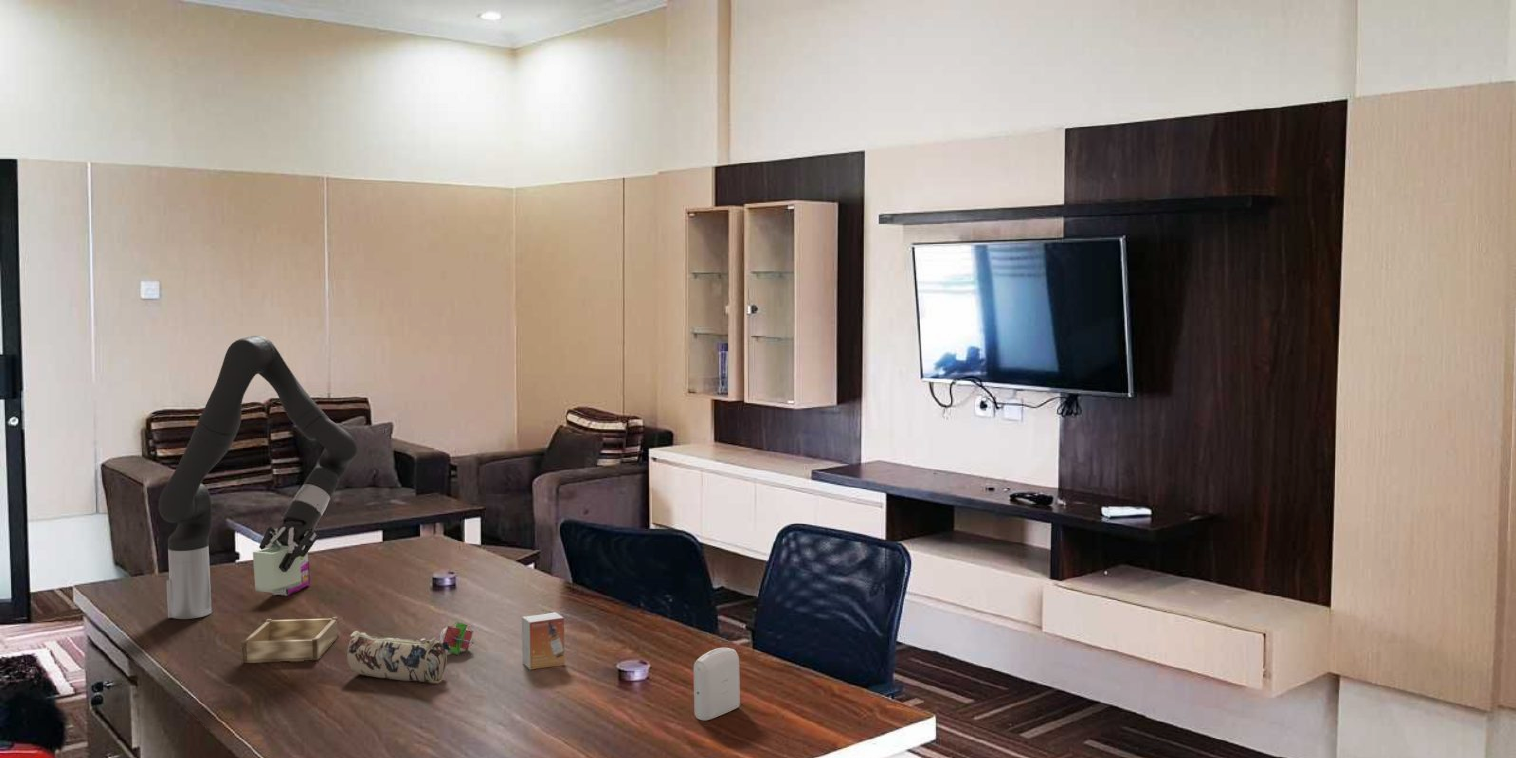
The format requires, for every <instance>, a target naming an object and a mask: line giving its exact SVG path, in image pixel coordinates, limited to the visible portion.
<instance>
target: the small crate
mask: <svg viewBox="0 0 1516 758" xmlns="http://www.w3.org/2000/svg"><path fill="white" fill-rule="evenodd" d="M279 546H280V549H279V548H277V547H276V546H273V547H271V548H266V549H262V550H261V549H260V550H256V551H252V559H253V573H254V574H253V575H254V576H253V578H254V588H255V589H254V591H256V592H262V593H263V592H264V593H271V594H272V593H276V592H280V591H283V590H286V589H289V588H292V587H295V586H299V585H301V569H300V556H299V557H298V558H297V559H295V560H294V562H293V563H292V565H291V567H290V568H289V569H288V571H287V572H283V571H282V570H281V569H279V565H280V564H281V562H282V560H283V559H284V557H285V555H286V554H289V553H288V549H289V546H283V545H279ZM294 549H295V548H294Z"/></svg>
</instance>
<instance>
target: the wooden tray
mask: <svg viewBox="0 0 1516 758" xmlns="http://www.w3.org/2000/svg"><path fill="white" fill-rule="evenodd" d="M338 638H339V617H338V616H333V617H332V618H331V617H330V618H303V619H301V618H300V619H272V618H267V619H266V620H265V622H264V623H263V624H262V625H260V626H259V627H258V628H257V629H256V630H254V631H253V633H251V634H250V635H248V637H247V638H245V640H242V641H241V650H242V652H241V653H242V654H241V655H242V663H243V664H255V663H257V664H258V663H280V662H281V661H290V662H308V661H307V660H318V659H319V658H320V659H321V657H322V656H323V655H324V654H325V653H326V652H325V650H327V651H328V649H329V648H330V647H331V646H332V645H333V644H334V643H335V642H336V640H338ZM334 641H335V642H334ZM333 642H334V643H333ZM332 643H333V644H332ZM324 652H325V653H324ZM323 653H324V654H323ZM322 654H323V655H322ZM321 655H322V656H321ZM320 656H321V657H320ZM320 659H319V660H320ZM304 660H306V661H304ZM319 660H318V661H319ZM281 663H282V662H281Z"/></svg>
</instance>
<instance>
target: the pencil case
mask: <svg viewBox="0 0 1516 758" xmlns="http://www.w3.org/2000/svg"><path fill="white" fill-rule="evenodd" d="M349 638H351V639H350V641H349V643H348V645H347V646H348V647H347V652H346V656H347V657H346V658H347V663H348V666H349V668H350V670H352V671H353V672H355V673H357V674H360V675H362V676H364V677H365V676H367V677H374V678H378V679H385V680H387V679H388V680H398V681H405V682H420V683H426V684H427V683H429V684H433V685H434V684H435V685H436V684H440V683H441V682H442V681H443V677H444V674H445V671H446V668H447V663H448V662H447V661H448V655H447V651H448V650H450V646H448V644H447V642H444V641H443V642H444V643H441V641H440V640H437V639H436V637H433V638H432V639H426V638H420V640H417V639H416V640H415V639H406V638H399V637H397V638H396V637H377V636H372V635H368V634H367V633H366V632H360V631H359V630H355V631H353V632H352V633H351V634H350V635H349ZM446 650H447V651H446Z"/></svg>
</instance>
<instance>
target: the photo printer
mask: <svg viewBox="0 0 1516 758" xmlns="http://www.w3.org/2000/svg"><path fill="white" fill-rule="evenodd" d="M740 684H741V683H740V657H739V654H738V652H737V651H736V650H735V649H734V648H731V647H730V648H729V647H718V648H714V649H711V650H709V651H708V652H705V653H704V654H703V655H701V656H700V657H699V658H697V659H696V661H695V662H694V664H693V699H694V700H693V701H694V702H693V708H694V709H693V710H694V712H693V713H694V716H695V717H696V719H697V720H700V721H704V722H705V721H709V720H713V719H716V718H717V717H719V716H722V715H725V714H727V713H730V712H731V711H733V710H735V709H737V708H739V707H740V705H741V700H740V699H741V696H740V695H741V691H740V689H741V687H740V686H741V685H740Z"/></svg>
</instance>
